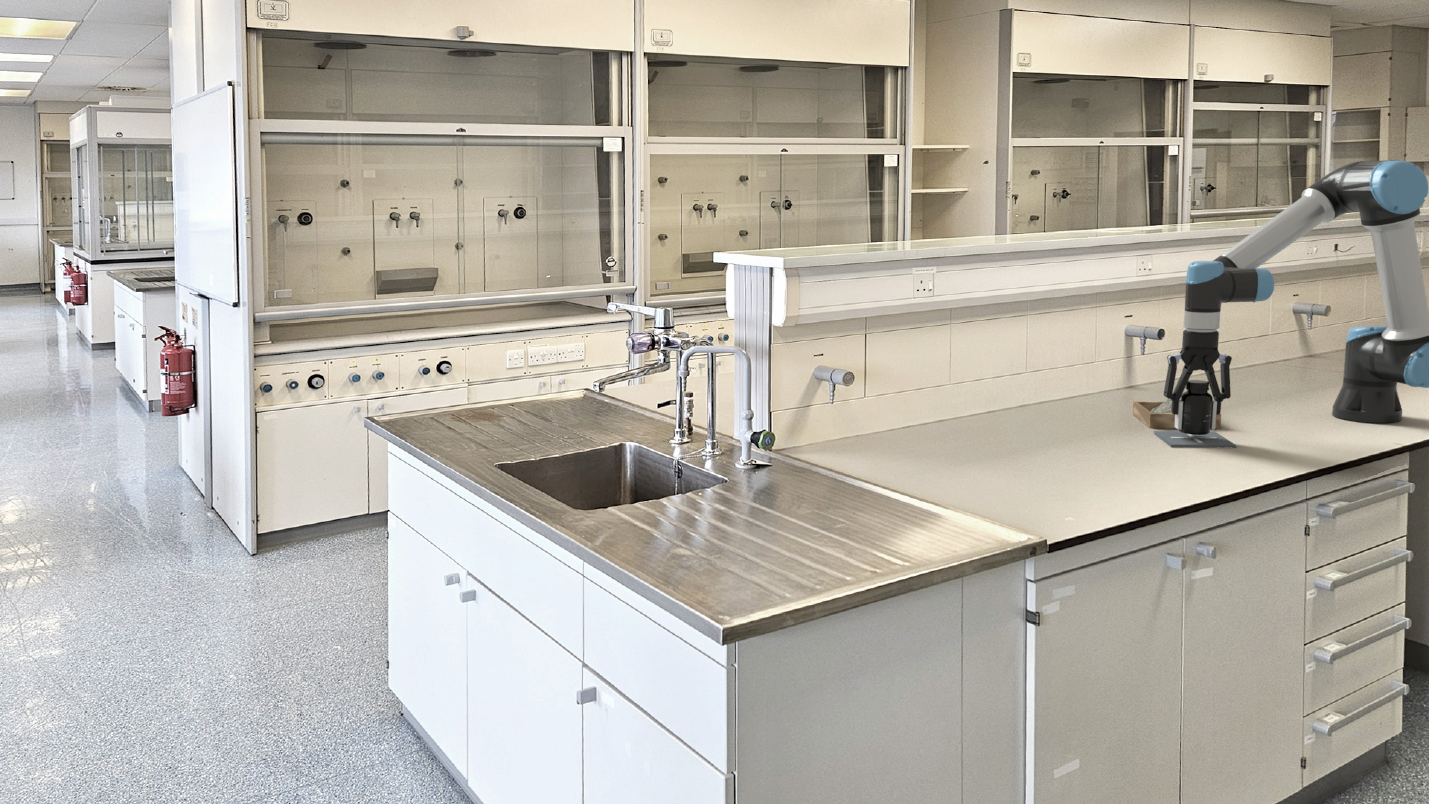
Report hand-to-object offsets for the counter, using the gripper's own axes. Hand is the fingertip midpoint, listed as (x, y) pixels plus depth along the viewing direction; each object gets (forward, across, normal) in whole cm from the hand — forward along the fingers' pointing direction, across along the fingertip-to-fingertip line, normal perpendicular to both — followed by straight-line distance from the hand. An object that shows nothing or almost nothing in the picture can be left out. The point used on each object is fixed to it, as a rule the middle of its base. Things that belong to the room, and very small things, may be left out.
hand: (1194, 428), depth 255 cm
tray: (+3, -2, -21) cm, 21 cm away
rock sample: (+3, +1, -23) cm, 23 cm away
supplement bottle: (+1, 0, 0) cm, 1 cm away
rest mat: (+3, 0, 0) cm, 3 cm away
